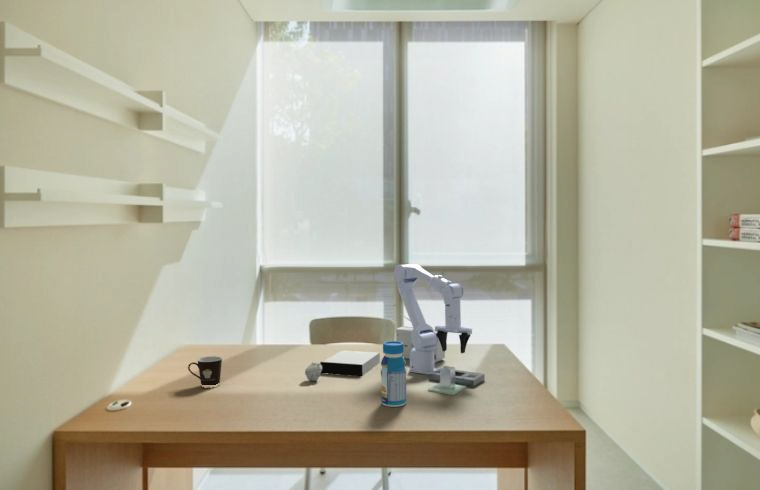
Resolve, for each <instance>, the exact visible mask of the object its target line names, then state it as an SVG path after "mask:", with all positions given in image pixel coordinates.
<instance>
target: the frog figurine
mask: <svg viewBox="0 0 760 490" xmlns="http://www.w3.org/2000/svg"><path fill="white" fill-rule="evenodd" d="M321 371H322V365H321V364H320V362H317V361H313V362H311V364H309V365H308V366H307V367H306V368H305V371H304V375H305V376H306V378H307V380H308V381H311V382H315V381H317V380H319V378H320V377H321V374H322V373H321Z"/></svg>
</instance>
